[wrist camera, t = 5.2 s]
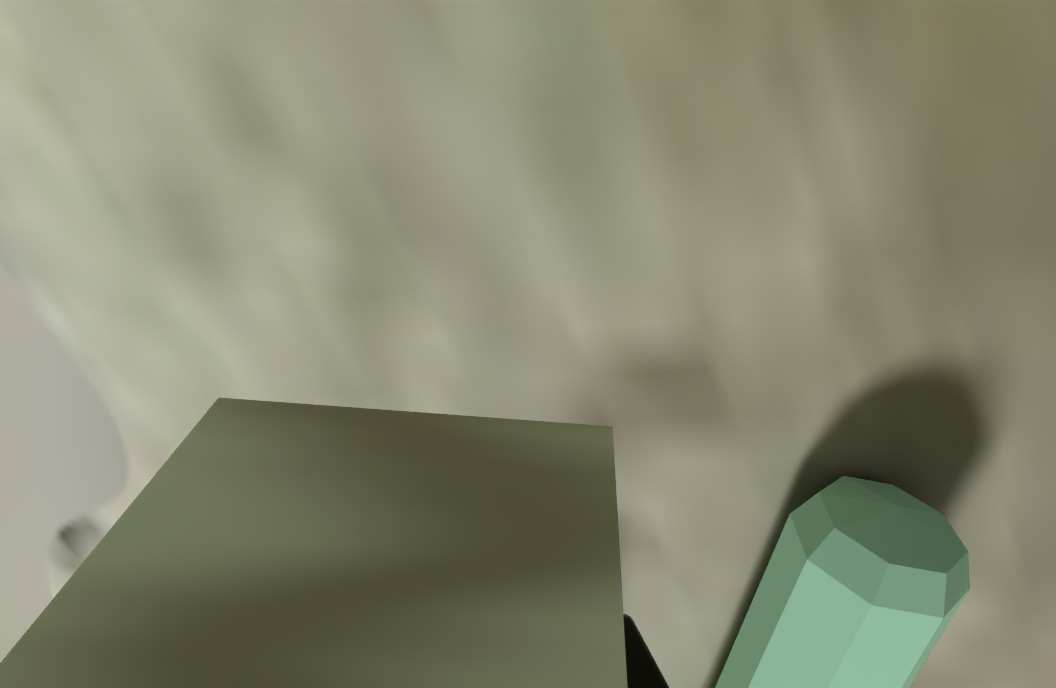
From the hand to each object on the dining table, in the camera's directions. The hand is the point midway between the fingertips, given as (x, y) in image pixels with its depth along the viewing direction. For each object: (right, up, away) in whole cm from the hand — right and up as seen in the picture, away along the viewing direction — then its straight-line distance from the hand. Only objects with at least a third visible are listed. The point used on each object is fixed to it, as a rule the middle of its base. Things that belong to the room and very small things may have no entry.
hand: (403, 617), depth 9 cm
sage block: (0, 0, +1) cm, 1 cm away
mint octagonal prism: (+10, -11, +19) cm, 24 cm away
